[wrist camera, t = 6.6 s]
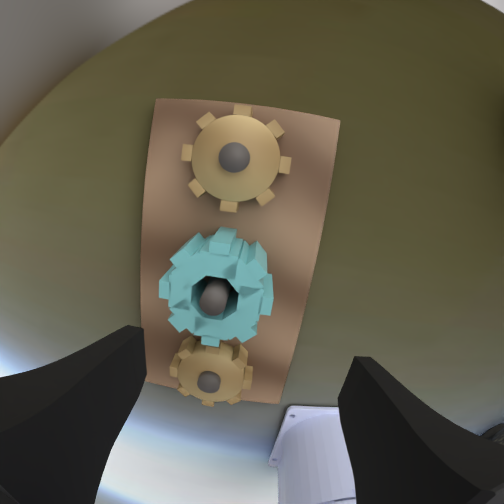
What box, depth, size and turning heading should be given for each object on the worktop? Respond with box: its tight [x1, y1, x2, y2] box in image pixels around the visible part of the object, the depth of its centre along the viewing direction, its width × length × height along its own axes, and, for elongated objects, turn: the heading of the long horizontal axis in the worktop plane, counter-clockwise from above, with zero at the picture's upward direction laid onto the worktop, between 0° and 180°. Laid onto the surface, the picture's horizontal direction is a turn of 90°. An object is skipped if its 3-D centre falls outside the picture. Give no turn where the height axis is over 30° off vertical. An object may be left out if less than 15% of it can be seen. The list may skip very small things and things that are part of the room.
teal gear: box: [159, 227, 274, 347], centre depth 15 cm, size 5×5×3 cm
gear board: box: [140, 99, 340, 407], centre depth 15 cm, size 19×10×5 cm, turn 172°
